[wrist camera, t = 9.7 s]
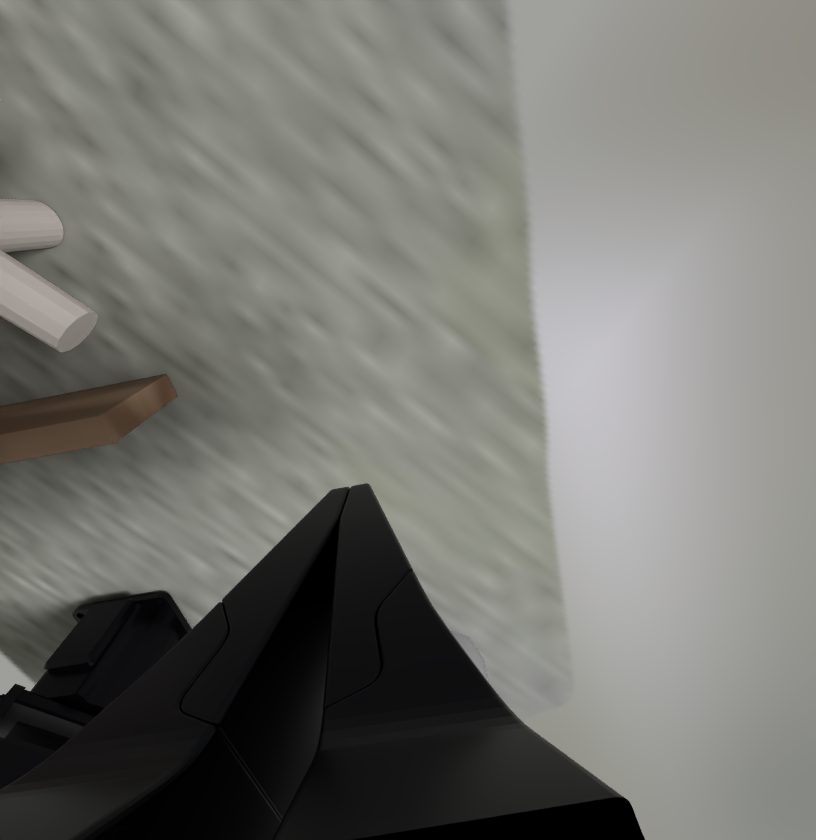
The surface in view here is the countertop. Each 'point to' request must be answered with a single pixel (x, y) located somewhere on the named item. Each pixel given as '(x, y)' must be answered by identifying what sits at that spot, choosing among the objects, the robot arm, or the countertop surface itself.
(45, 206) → the pipe connector
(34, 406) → the walnut bay
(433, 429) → the countertop surface
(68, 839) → the robot arm
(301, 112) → the countertop surface
